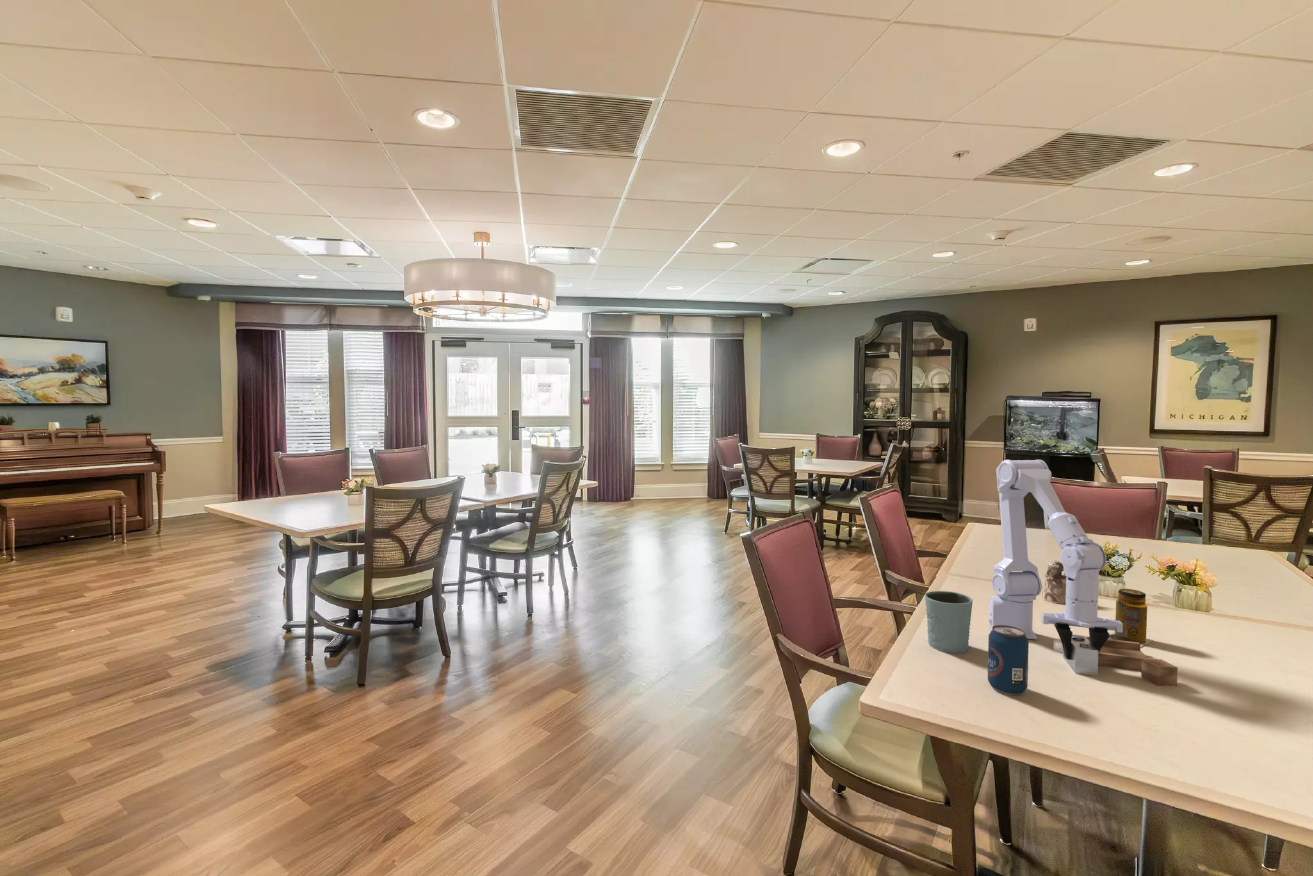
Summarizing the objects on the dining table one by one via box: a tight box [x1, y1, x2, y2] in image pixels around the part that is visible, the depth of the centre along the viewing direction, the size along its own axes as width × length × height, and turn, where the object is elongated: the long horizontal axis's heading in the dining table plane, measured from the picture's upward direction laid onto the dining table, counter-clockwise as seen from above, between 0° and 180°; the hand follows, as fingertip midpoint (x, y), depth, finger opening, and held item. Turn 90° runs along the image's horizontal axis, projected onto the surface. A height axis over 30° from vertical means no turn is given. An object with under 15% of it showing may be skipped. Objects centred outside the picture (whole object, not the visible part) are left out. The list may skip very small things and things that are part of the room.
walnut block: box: [1140, 658, 1178, 687], centre depth 122 cm, size 4×4×4 cm
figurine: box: [1041, 560, 1066, 605], centre depth 176 cm, size 7×7×12 cm
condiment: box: [1108, 588, 1153, 648], centre depth 145 cm, size 7×8×12 cm
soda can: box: [987, 625, 1029, 696], centre depth 119 cm, size 7×7×12 cm
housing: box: [1062, 633, 1099, 677], centre depth 130 cm, size 4×9×6 cm, turn 159°
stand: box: [1085, 636, 1154, 671], centre depth 134 cm, size 12×11×2 cm
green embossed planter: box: [924, 590, 974, 654], centre depth 141 cm, size 10×10×12 cm
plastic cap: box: [1052, 639, 1063, 654], centre depth 139 cm, size 4×4×2 cm
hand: (1079, 659), depth 130 cm, fingers closed on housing, 4 cm apart
